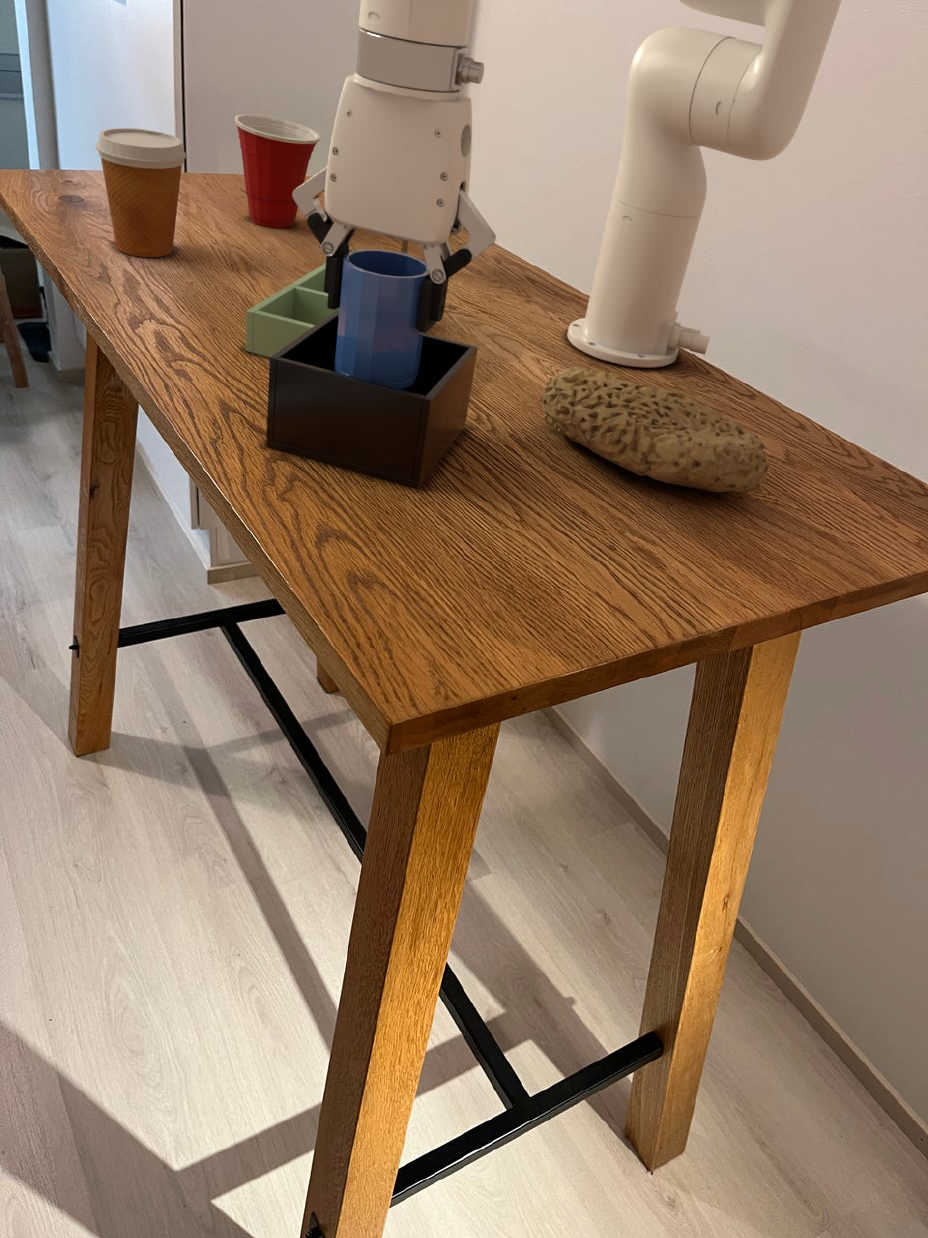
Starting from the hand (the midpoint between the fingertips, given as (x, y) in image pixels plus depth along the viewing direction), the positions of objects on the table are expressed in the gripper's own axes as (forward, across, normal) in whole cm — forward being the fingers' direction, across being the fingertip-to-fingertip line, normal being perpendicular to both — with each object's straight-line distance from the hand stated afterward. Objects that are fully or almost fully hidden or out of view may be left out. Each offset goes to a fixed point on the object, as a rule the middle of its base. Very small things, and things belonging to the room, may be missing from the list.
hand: (382, 314), depth 81 cm
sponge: (+11, -23, -9) cm, 27 cm away
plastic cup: (+11, +34, -53) cm, 64 cm away
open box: (+11, 0, 0) cm, 11 cm away
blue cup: (+5, 0, 0) cm, 5 cm away
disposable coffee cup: (+11, +40, -31) cm, 52 cm away
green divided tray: (+11, +12, -20) cm, 26 cm away
